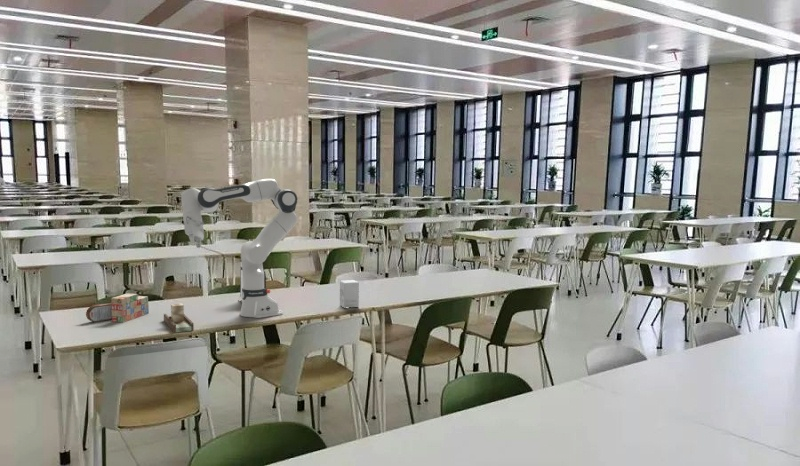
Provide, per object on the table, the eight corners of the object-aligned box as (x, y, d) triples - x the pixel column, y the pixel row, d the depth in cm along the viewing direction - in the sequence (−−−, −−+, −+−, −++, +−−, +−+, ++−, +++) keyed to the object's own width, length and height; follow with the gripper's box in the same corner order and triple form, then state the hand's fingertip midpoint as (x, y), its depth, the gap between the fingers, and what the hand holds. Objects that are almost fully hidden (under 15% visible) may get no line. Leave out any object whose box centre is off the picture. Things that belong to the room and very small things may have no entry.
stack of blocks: (138, 312, 320) (138, 290, 318) (148, 313, 318) (148, 290, 317) (111, 322, 299) (111, 297, 298) (122, 322, 297) (122, 298, 296)
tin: (116, 317, 308) (116, 301, 307) (119, 318, 306) (118, 302, 305) (85, 322, 296) (85, 305, 295) (88, 323, 294) (88, 306, 293)
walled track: (182, 319, 308) (182, 312, 307) (193, 330, 286) (193, 323, 286) (163, 320, 303) (163, 313, 303) (173, 332, 281) (173, 325, 281)
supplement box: (354, 304, 352) (354, 279, 351) (358, 307, 344) (359, 282, 343) (339, 305, 349) (339, 280, 348) (343, 308, 341) (344, 282, 339)
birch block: (181, 319, 299) (181, 303, 299) (183, 321, 295) (183, 305, 294) (171, 320, 297) (170, 304, 296) (173, 322, 292) (172, 306, 292)
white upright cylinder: (235, 304, 346) (235, 252, 343) (241, 298, 362) (241, 249, 359) (265, 304, 346) (265, 253, 343) (270, 299, 362) (270, 249, 359)
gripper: (192, 214, 295) (195, 241, 293) (204, 222, 316) (207, 248, 313) (179, 216, 295) (182, 243, 293) (192, 224, 315) (195, 250, 313)
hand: (195, 246), depth 303 cm, fingers open, 8 cm apart
